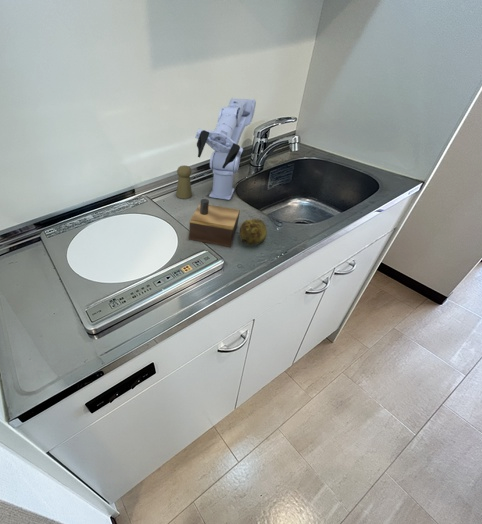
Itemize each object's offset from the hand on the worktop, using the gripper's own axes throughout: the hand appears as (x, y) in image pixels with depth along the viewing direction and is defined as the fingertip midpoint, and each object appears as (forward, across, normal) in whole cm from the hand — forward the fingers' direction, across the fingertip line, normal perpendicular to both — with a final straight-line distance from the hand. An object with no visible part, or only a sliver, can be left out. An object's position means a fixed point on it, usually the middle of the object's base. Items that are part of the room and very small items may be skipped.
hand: (212, 160), depth 79 cm
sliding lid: (+10, +8, +10) cm, 16 cm away
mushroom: (-10, -4, +28) cm, 29 cm away
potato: (+12, +21, +12) cm, 27 cm away
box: (+11, +10, +16) cm, 22 cm away
